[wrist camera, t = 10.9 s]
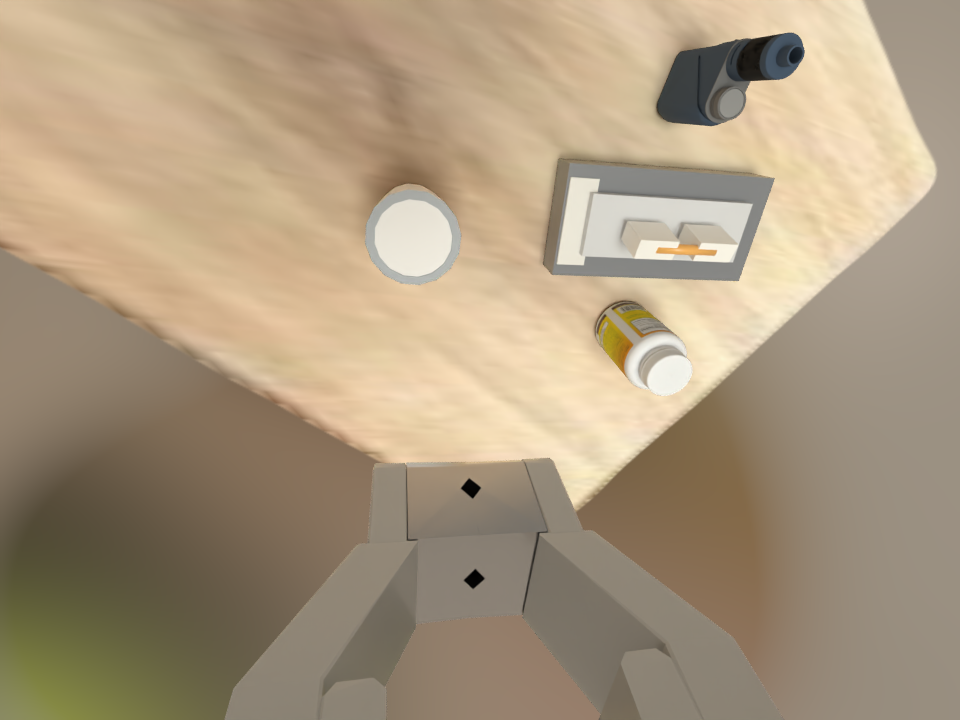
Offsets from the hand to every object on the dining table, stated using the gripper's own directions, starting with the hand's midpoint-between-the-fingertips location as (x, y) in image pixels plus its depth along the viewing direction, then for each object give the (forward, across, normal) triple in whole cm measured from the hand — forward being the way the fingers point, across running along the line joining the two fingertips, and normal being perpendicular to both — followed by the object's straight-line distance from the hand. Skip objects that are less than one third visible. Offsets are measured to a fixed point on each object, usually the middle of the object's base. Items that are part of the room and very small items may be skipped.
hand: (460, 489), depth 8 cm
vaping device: (+35, -21, -8) cm, 42 cm away
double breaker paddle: (+31, -21, +2) cm, 37 cm away
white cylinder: (+35, 0, +3) cm, 35 cm away
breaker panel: (+35, -21, +2) cm, 41 cm away
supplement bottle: (+35, -21, +12) cm, 43 cm away
